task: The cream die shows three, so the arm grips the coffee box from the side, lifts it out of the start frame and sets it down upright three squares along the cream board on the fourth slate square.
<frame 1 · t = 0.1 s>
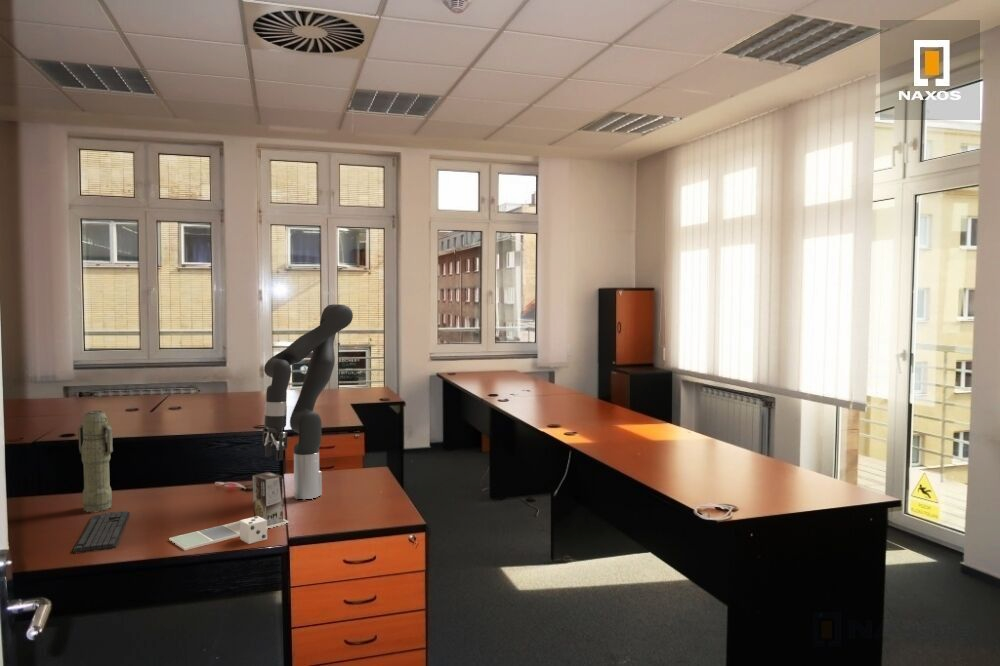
hand: (273, 458, 250), 17 cm above the table, tool pointing down, fingers open, 8 cm apart
die: (253, 539, 216), on the table
coffee box: (268, 523, 232), resting in board
board: (231, 531, 223), on the table
khaki stone statue: (98, 509, 246), on the table
keyboard: (103, 534, 222), on the table
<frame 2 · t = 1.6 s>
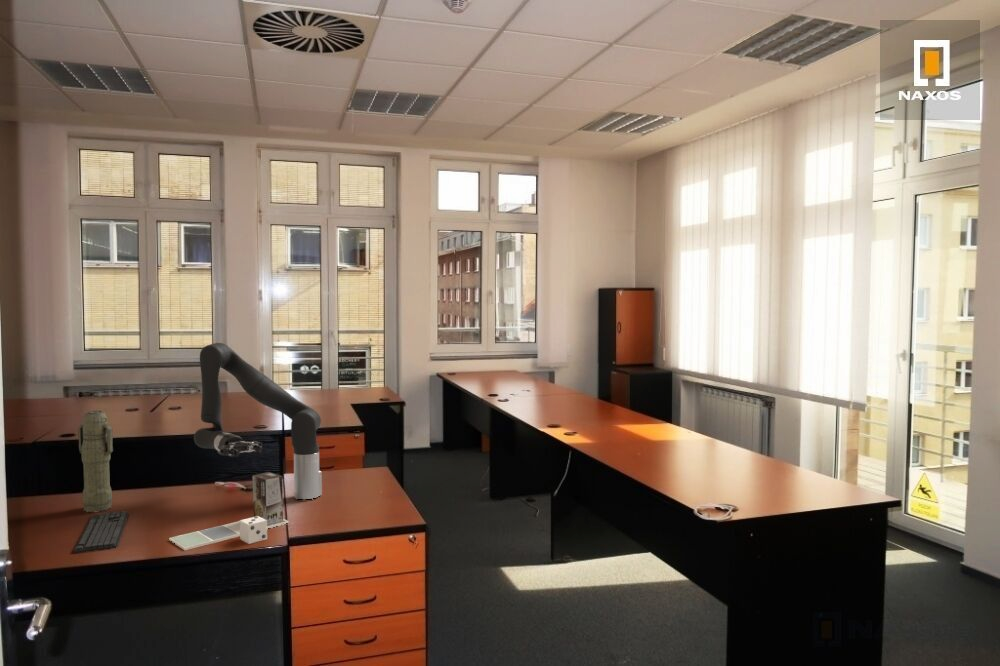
hand: (249, 451, 239), 22 cm above the table, tool horizontal, fingers open, 8 cm apart
nothing on the table moved.
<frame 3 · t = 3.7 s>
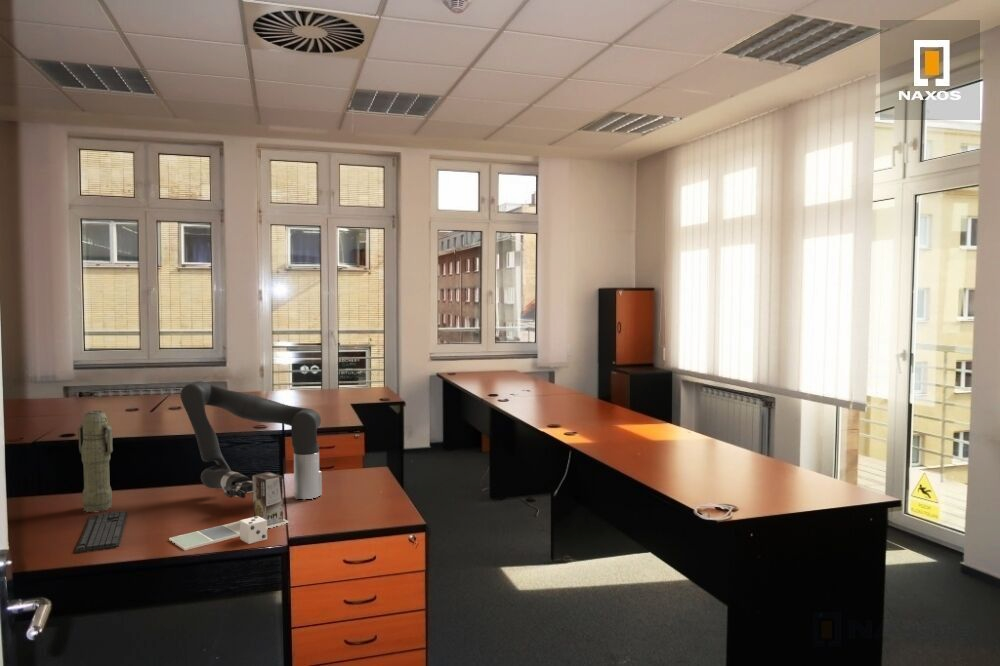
hand: (256, 492, 237), 9 cm above the table, tool horizontal, fingers open, 8 cm apart
nothing on the table moved.
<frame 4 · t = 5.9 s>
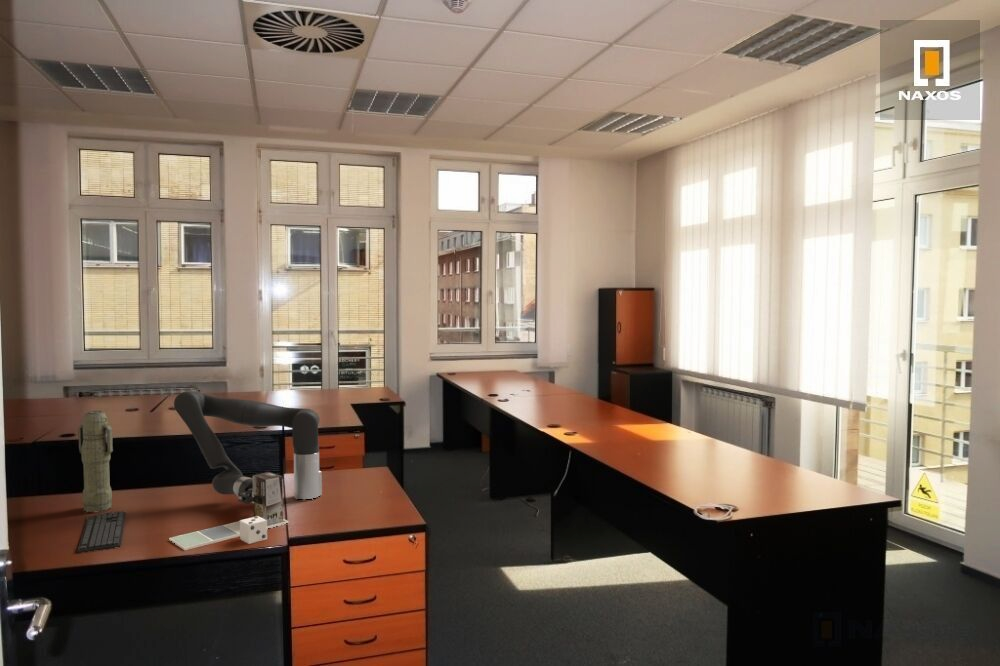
hand: (271, 499, 230), 9 cm above the table, tool horizontal, fingers closed on coffee box, 6 cm apart
coffee box: (268, 523, 232), resting in board, touching gripper
everything else where it was.
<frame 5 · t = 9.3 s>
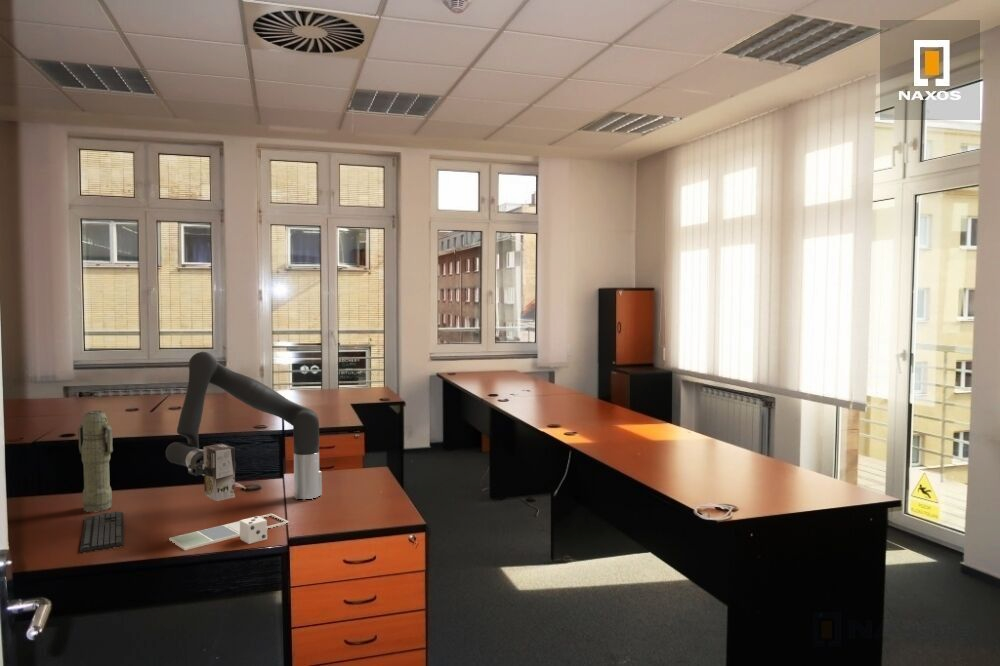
hand: (222, 471, 218), 21 cm above the table, tool horizontal, fingers closed on coffee box, 6 cm apart
coffee box: (219, 497, 220), point 12 cm above the table, touching gripper
when the fingers open (11 cm above the table, at t = 12.7 s): coffee box drops 1 cm, resting on board.
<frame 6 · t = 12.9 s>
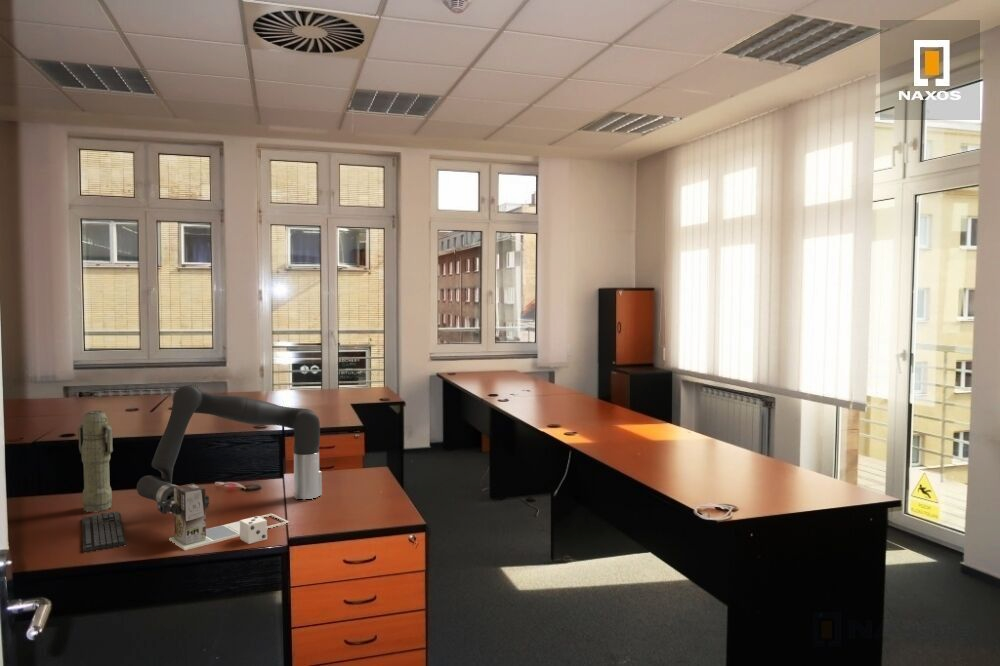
hand: (192, 508, 211), 11 cm above the table, tool horizontal, fingers open, 8 cm apart
coffee box: (190, 539, 213), point 1 cm above the table, touching board
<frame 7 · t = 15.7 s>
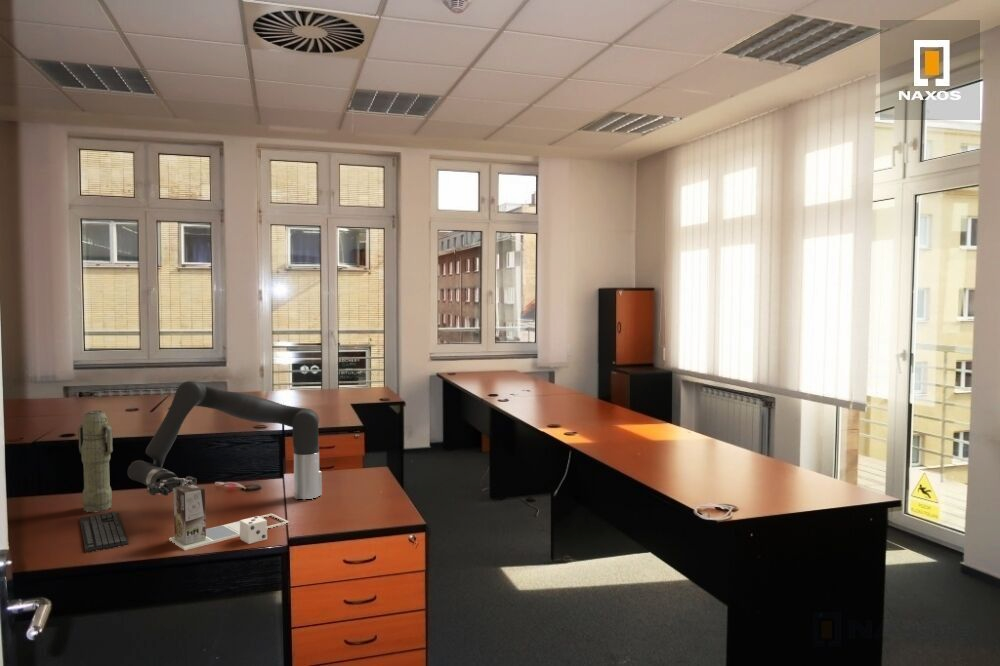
hand: (180, 489, 222), 14 cm above the table, tool horizontal, fingers open, 8 cm apart
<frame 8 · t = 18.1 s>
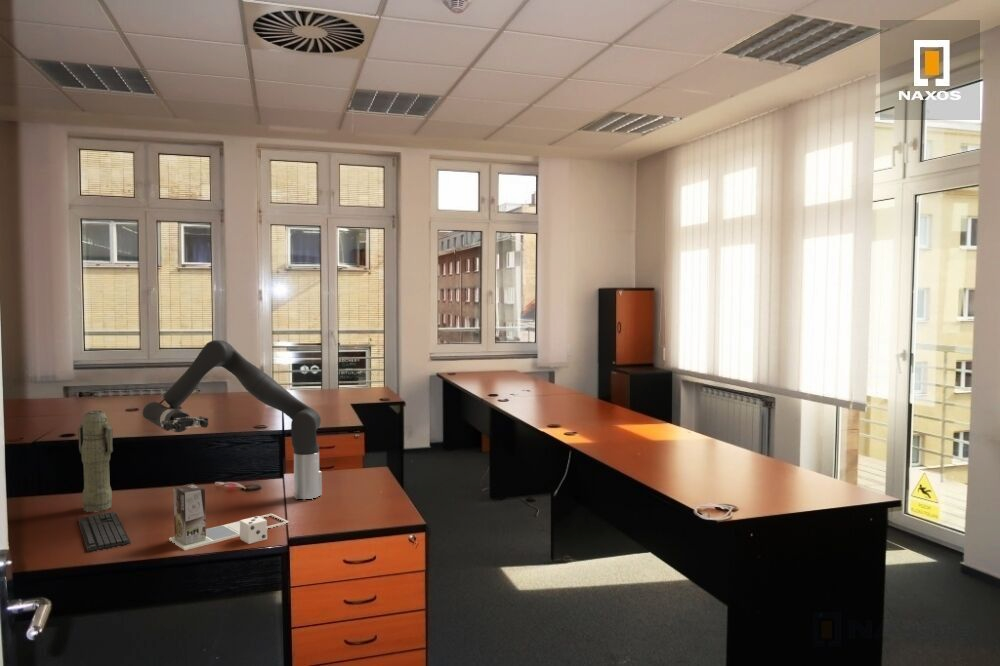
hand: (193, 426, 233), 32 cm above the table, tool horizontal, fingers open, 8 cm apart
at the end: coffee box inside the target area (0.2 cm from its centre), point 0.7 cm above the table; coffee box tilted 0°; the gripper is holding nothing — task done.
